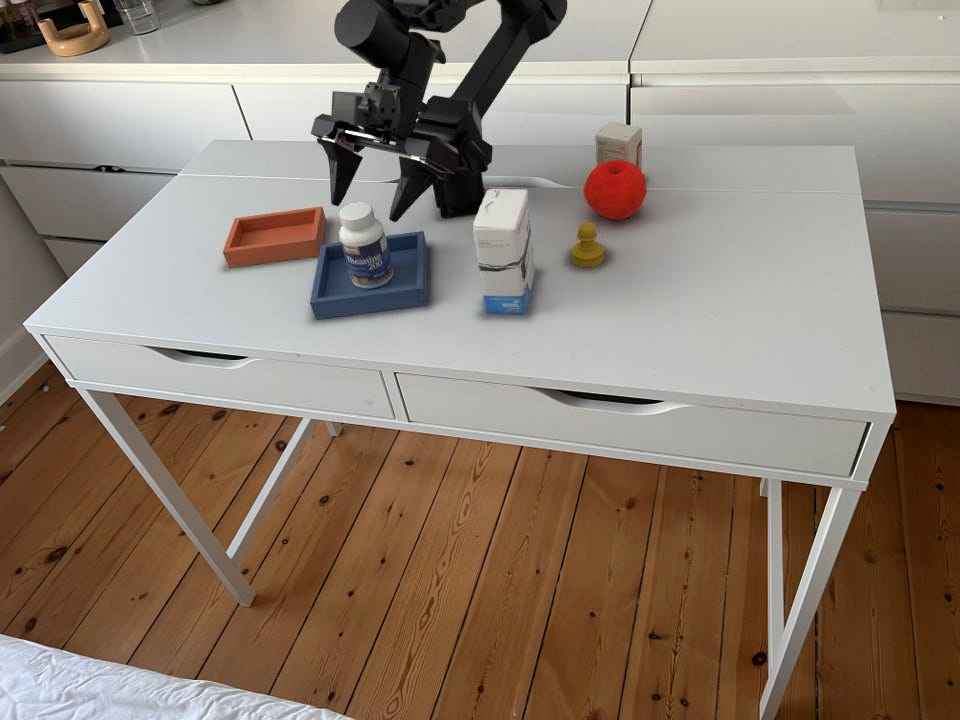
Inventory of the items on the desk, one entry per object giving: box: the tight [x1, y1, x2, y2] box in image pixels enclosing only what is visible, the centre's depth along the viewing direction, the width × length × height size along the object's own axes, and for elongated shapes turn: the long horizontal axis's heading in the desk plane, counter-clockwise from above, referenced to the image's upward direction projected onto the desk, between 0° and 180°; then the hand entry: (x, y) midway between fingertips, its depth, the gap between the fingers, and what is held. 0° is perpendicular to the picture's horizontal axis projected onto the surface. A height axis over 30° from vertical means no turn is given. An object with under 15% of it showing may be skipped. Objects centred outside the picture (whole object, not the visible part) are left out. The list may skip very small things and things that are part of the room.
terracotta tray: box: [222, 205, 328, 269], centre depth 106 cm, size 13×9×3 cm
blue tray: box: [309, 230, 428, 320], centre depth 97 cm, size 14×13×3 cm
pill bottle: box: [338, 201, 393, 289], centre depth 94 cm, size 5×5×10 cm
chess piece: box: [571, 221, 605, 268], centre depth 94 cm, size 4×4×5 cm
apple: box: [582, 160, 648, 221], centre depth 99 cm, size 8×8×7 cm
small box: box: [594, 121, 643, 172], centre depth 105 cm, size 5×4×8 cm
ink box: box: [472, 188, 536, 315], centre depth 88 cm, size 8×5×12 cm, turn 168°
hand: (362, 213), depth 92 cm, fingers open, 9 cm apart
